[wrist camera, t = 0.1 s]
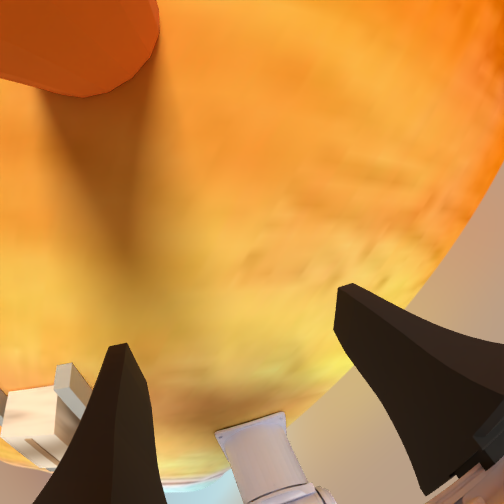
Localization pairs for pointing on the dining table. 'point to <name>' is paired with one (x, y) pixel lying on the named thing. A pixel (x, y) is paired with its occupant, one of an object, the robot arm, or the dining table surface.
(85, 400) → the chute
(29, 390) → the block
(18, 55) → the spray bottle
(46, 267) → the dining table surface
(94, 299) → the dining table surface
